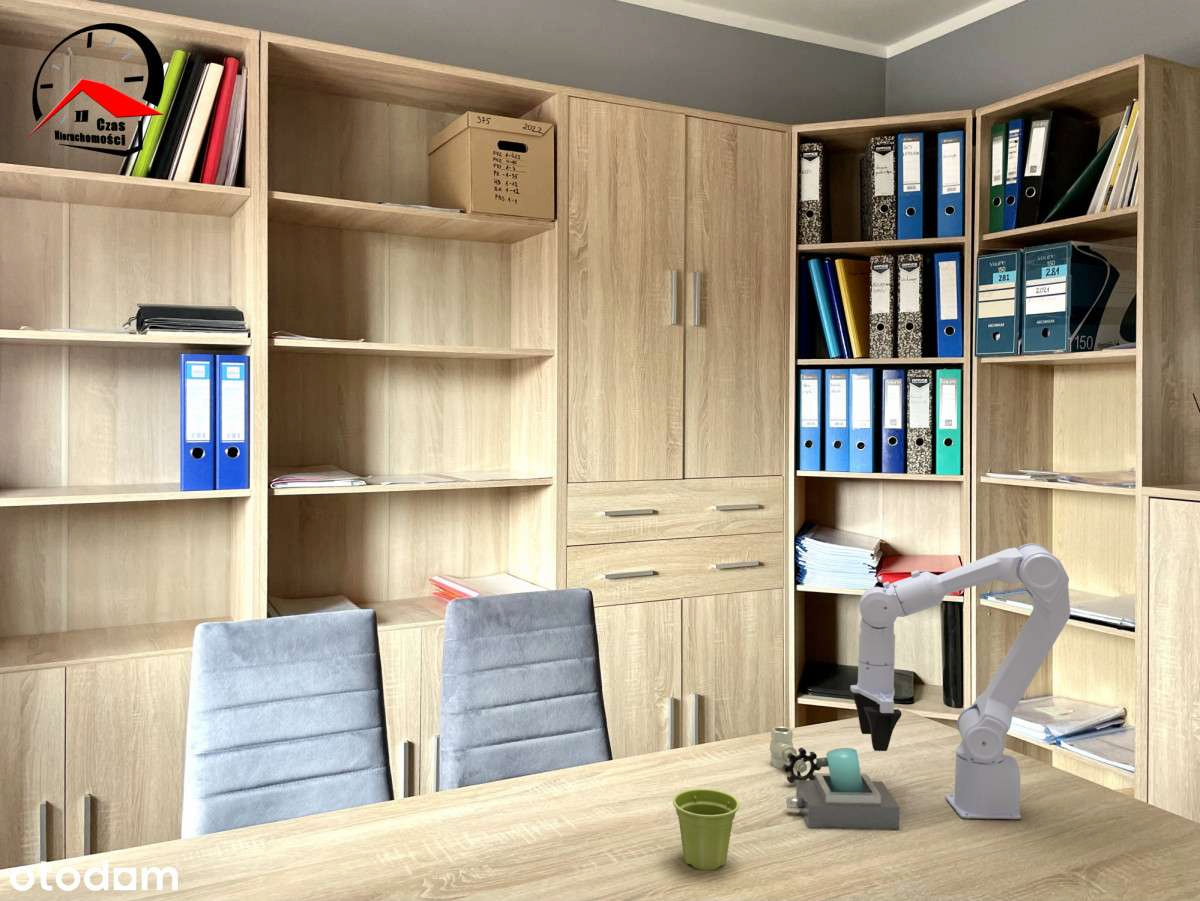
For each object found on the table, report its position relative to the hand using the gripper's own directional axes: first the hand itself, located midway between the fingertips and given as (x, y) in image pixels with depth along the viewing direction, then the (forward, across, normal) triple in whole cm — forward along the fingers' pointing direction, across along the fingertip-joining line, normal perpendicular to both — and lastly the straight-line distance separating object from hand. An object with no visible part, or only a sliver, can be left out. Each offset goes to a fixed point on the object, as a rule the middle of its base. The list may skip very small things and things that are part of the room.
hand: (873, 741), depth 162 cm
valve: (+10, -10, -12) cm, 18 cm away
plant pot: (+10, +23, -30) cm, 39 cm away
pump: (+5, +7, -6) cm, 11 cm away
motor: (+9, +7, -7) cm, 14 cm away
